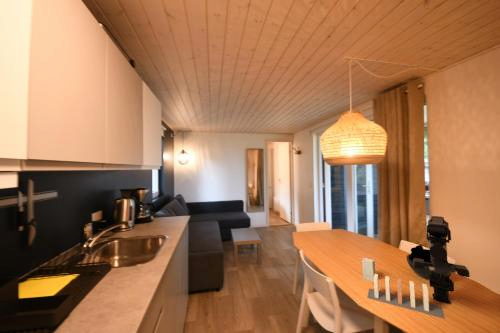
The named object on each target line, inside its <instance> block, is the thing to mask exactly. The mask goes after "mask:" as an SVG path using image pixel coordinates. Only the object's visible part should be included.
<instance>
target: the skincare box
mask: <svg viewBox="0 0 500 333" xmlns="http://www.w3.org/2000/svg"><path fill="white" fill-rule="evenodd" d="M361 266H362V278H363V280H367V281H369V282H372V283H374V274H376V264H375V259H371V258H367V257H362V259H361Z"/></svg>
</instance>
